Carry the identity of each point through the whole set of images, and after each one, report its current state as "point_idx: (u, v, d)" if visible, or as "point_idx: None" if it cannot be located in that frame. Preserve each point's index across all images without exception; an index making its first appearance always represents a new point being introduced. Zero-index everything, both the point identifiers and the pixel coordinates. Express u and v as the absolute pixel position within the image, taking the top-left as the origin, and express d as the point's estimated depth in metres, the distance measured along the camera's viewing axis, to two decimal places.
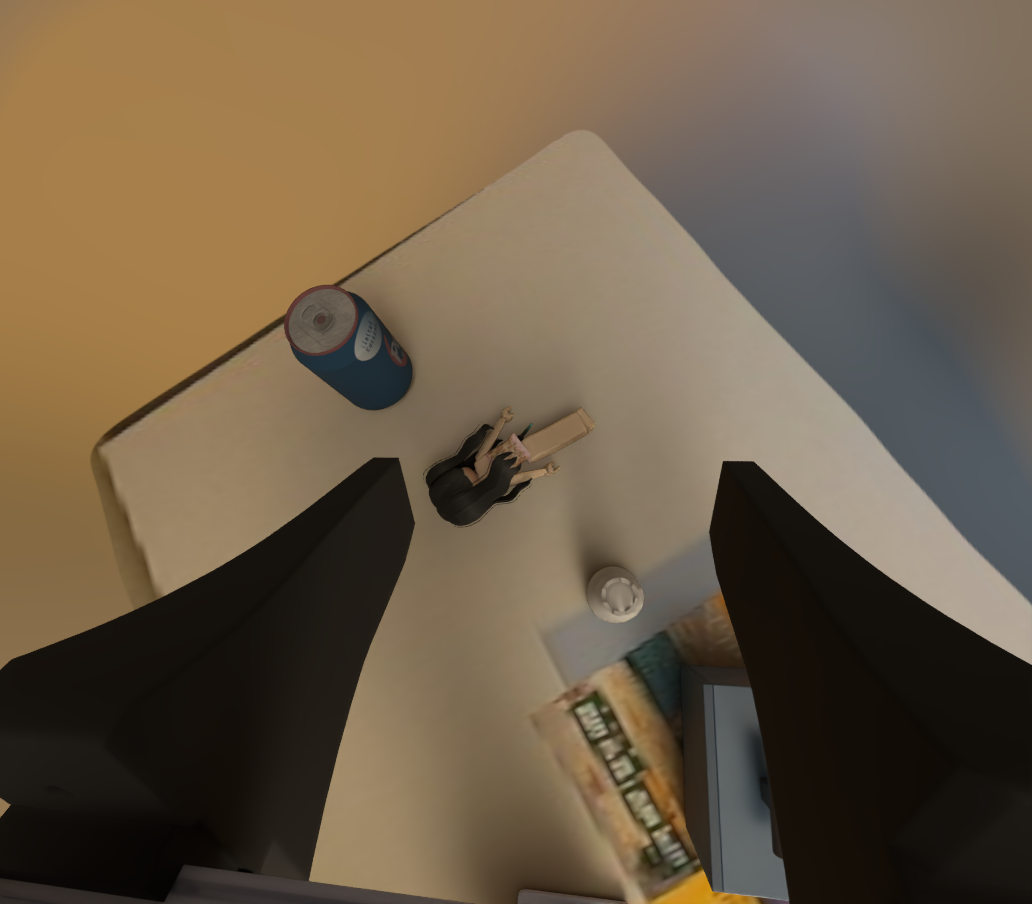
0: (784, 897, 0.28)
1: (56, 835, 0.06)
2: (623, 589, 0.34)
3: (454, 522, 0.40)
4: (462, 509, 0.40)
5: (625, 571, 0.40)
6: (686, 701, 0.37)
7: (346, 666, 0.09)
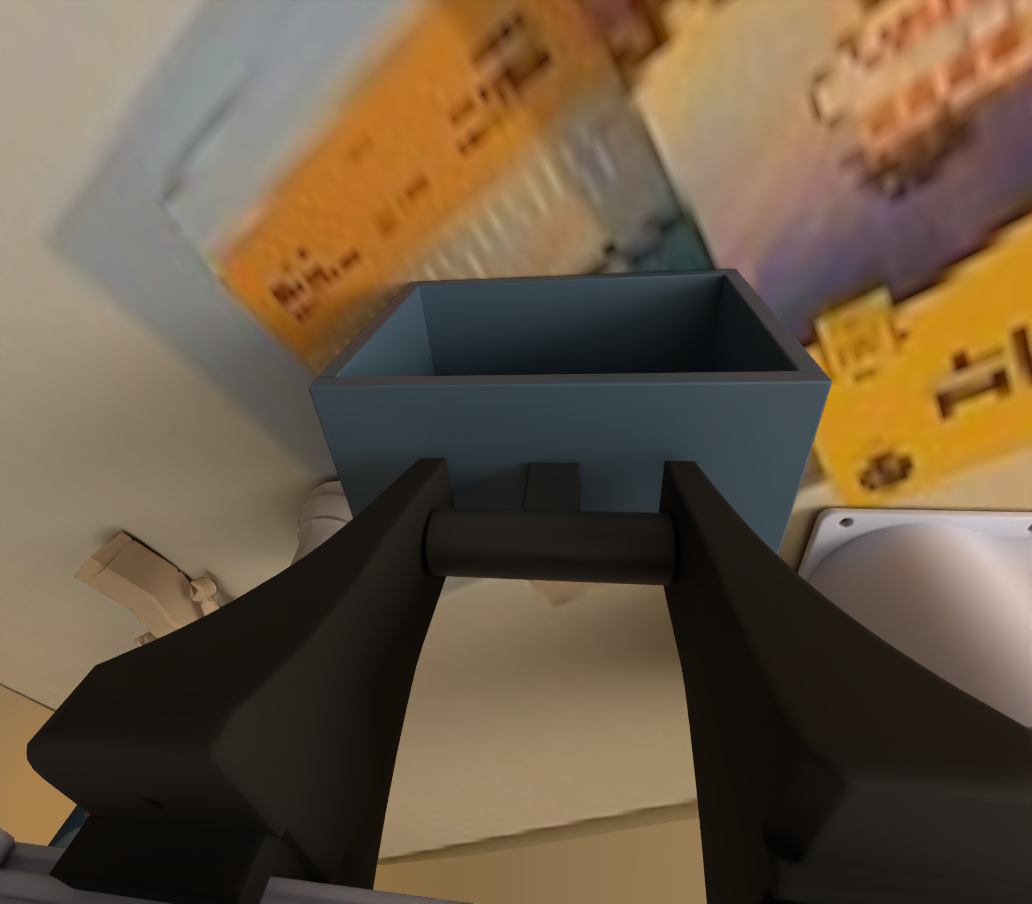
0: (799, 468, 0.11)
1: (141, 846, 0.06)
2: None
3: None
4: None
5: (299, 522, 0.23)
6: None
7: (403, 670, 0.09)
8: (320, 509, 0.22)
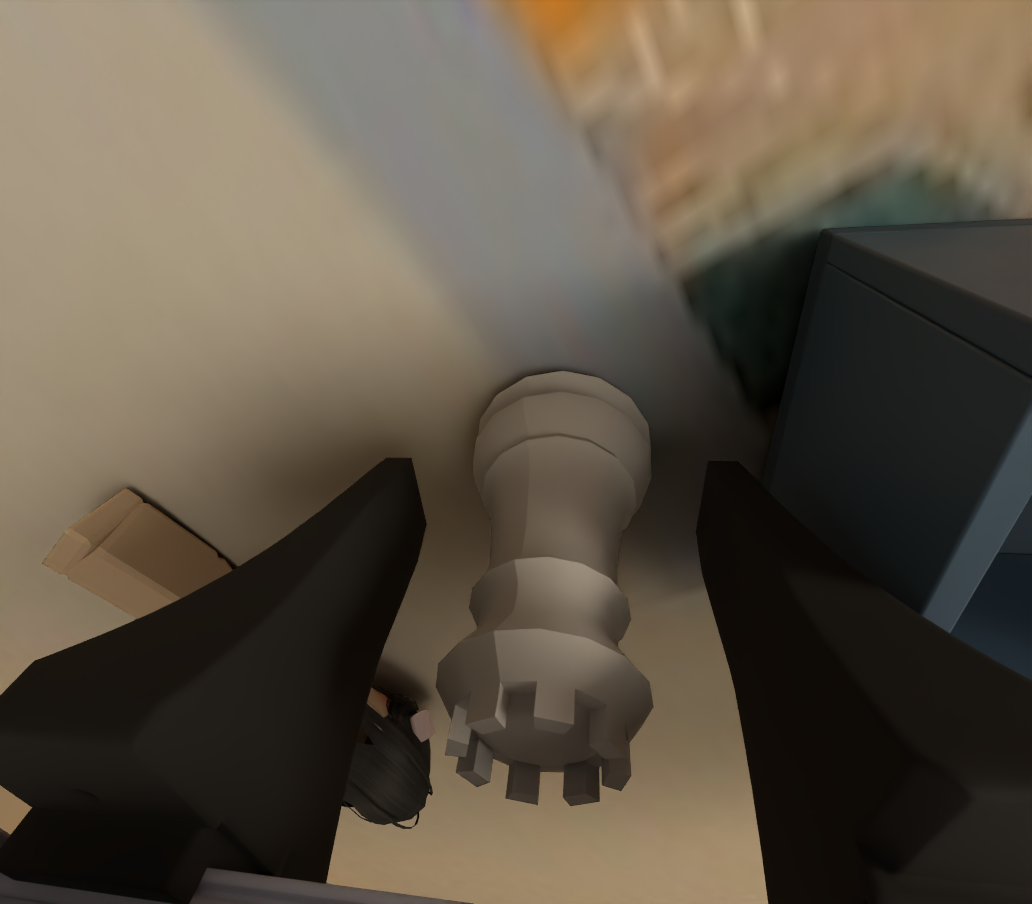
0: None
1: (79, 838, 0.06)
2: (503, 730, 0.07)
3: (420, 808, 0.18)
4: (384, 814, 0.17)
5: (480, 453, 0.12)
6: None
7: (361, 667, 0.09)
8: (537, 421, 0.11)
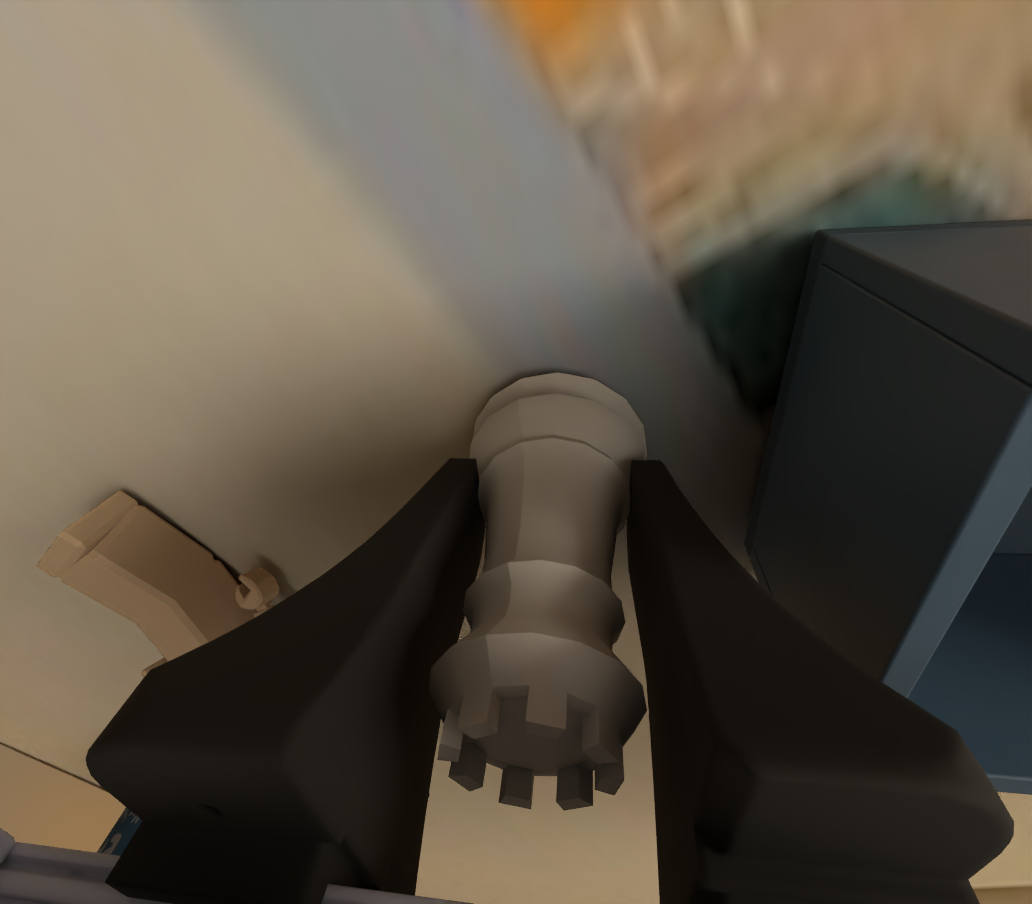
0: None
1: (197, 853, 0.06)
2: (496, 734, 0.07)
3: None
4: None
5: (474, 455, 0.12)
6: None
7: None
8: (532, 423, 0.11)
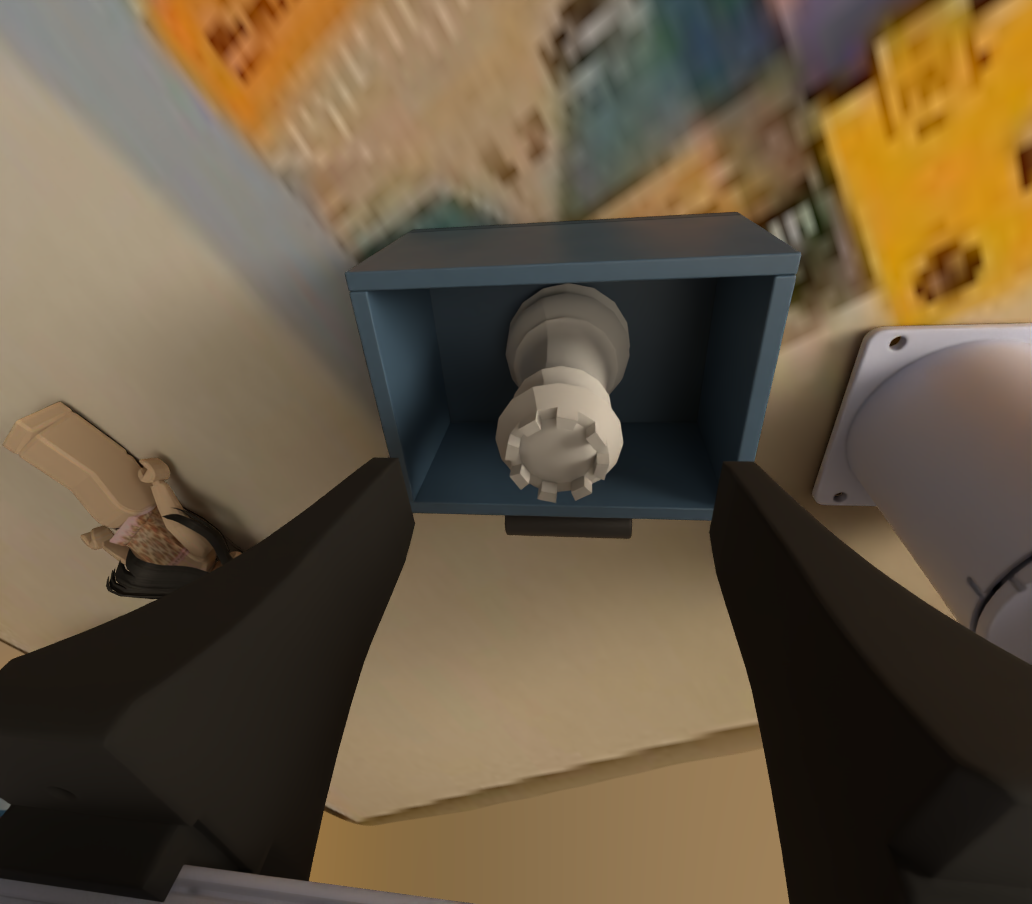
0: None
1: (56, 835, 0.06)
2: (537, 446, 0.12)
3: None
4: None
5: (512, 338, 0.17)
6: None
7: (346, 666, 0.09)
8: (552, 311, 0.16)
